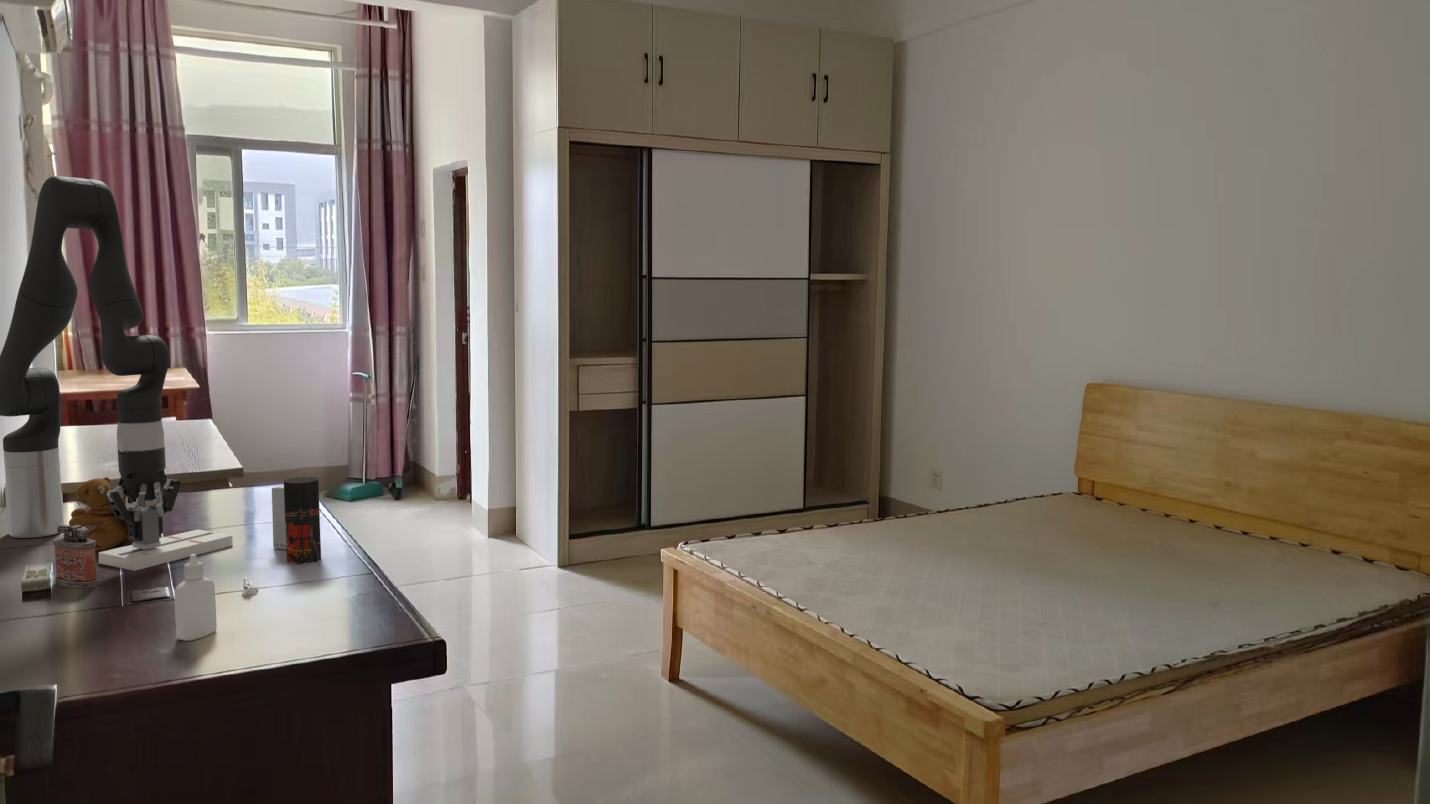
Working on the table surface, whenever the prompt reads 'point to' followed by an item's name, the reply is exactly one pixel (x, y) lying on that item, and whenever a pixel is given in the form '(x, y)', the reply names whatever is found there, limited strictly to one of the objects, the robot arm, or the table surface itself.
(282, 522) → the skincare box
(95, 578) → the lighter
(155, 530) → the fader
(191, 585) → the eye dropper bottle
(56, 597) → the table surface
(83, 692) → the table surface
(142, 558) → the panel
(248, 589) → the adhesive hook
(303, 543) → the deodorant
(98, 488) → the stuffed squirrel
